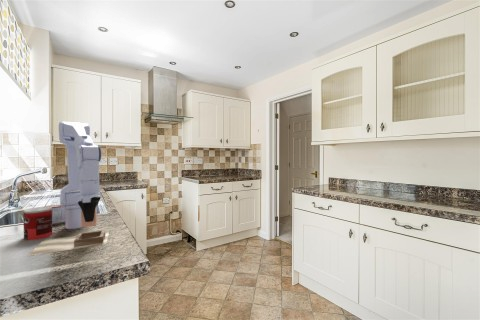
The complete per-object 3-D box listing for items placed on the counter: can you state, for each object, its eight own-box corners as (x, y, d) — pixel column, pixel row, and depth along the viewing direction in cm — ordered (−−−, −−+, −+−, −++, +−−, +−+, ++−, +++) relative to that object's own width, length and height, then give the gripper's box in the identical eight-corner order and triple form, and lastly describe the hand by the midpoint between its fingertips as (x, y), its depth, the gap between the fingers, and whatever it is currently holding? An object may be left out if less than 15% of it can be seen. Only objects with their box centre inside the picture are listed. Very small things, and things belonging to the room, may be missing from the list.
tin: (74, 219, 108) (73, 202, 108) (76, 221, 106) (75, 203, 106) (31, 227, 97) (31, 208, 96) (33, 229, 95) (32, 209, 94)
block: (83, 224, 79) (83, 206, 79) (97, 222, 81) (96, 205, 81) (81, 227, 76) (81, 209, 76) (95, 225, 77) (95, 208, 77)
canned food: (30, 236, 86) (29, 207, 85) (56, 234, 88) (55, 205, 88) (19, 244, 78) (18, 212, 78) (47, 241, 81) (46, 210, 81)
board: (43, 243, 79) (43, 234, 79) (109, 234, 88) (109, 226, 88) (27, 259, 67) (26, 249, 67) (106, 247, 75) (105, 238, 75)
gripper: (79, 179, 83) (80, 216, 83) (70, 183, 70) (71, 227, 70) (102, 178, 86) (103, 213, 86) (97, 182, 73) (98, 224, 73)
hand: (90, 219), depth 78 cm, fingers closed on block, 4 cm apart
